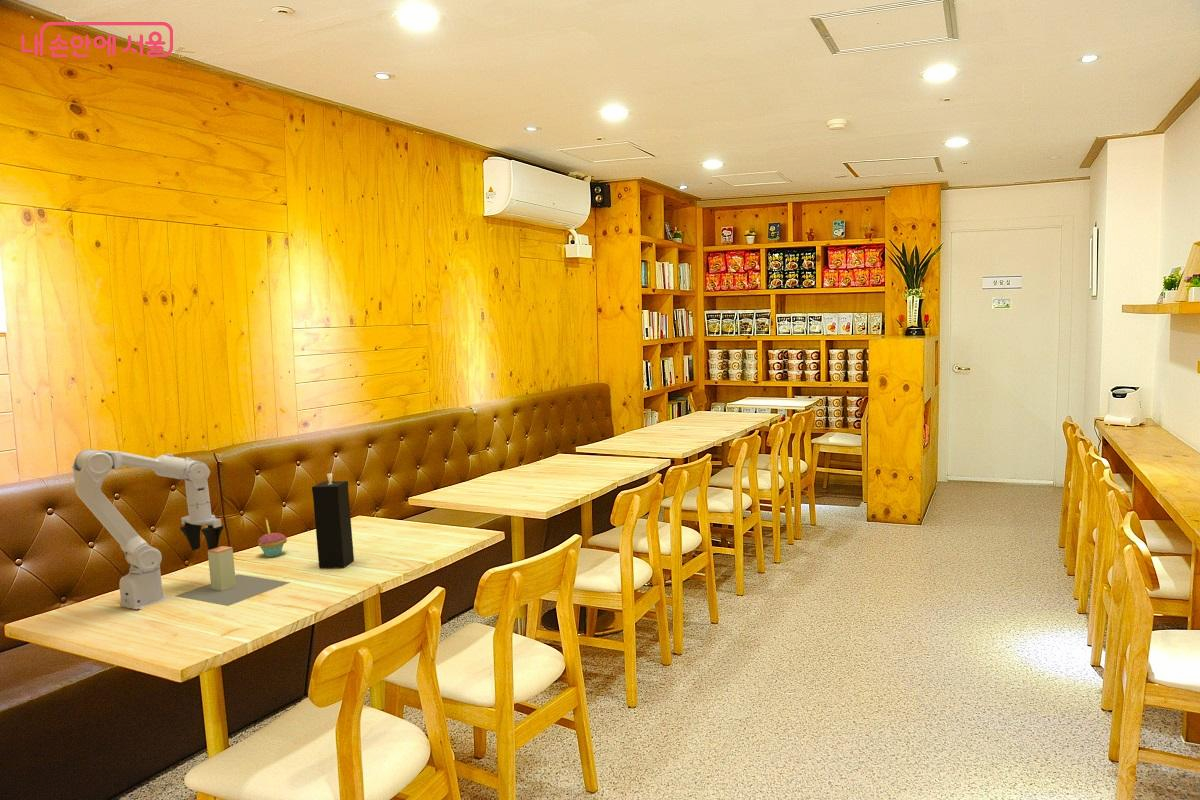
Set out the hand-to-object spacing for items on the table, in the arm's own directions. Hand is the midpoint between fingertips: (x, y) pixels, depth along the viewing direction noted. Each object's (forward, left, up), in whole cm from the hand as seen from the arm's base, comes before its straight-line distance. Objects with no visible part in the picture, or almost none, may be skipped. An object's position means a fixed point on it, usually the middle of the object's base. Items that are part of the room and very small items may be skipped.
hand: (204, 550), depth 232 cm
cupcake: (+30, +9, -11) cm, 33 cm away
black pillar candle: (+29, -20, -11) cm, 37 cm away
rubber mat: (0, -11, -10) cm, 15 cm away
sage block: (0, -7, -10) cm, 12 cm away
